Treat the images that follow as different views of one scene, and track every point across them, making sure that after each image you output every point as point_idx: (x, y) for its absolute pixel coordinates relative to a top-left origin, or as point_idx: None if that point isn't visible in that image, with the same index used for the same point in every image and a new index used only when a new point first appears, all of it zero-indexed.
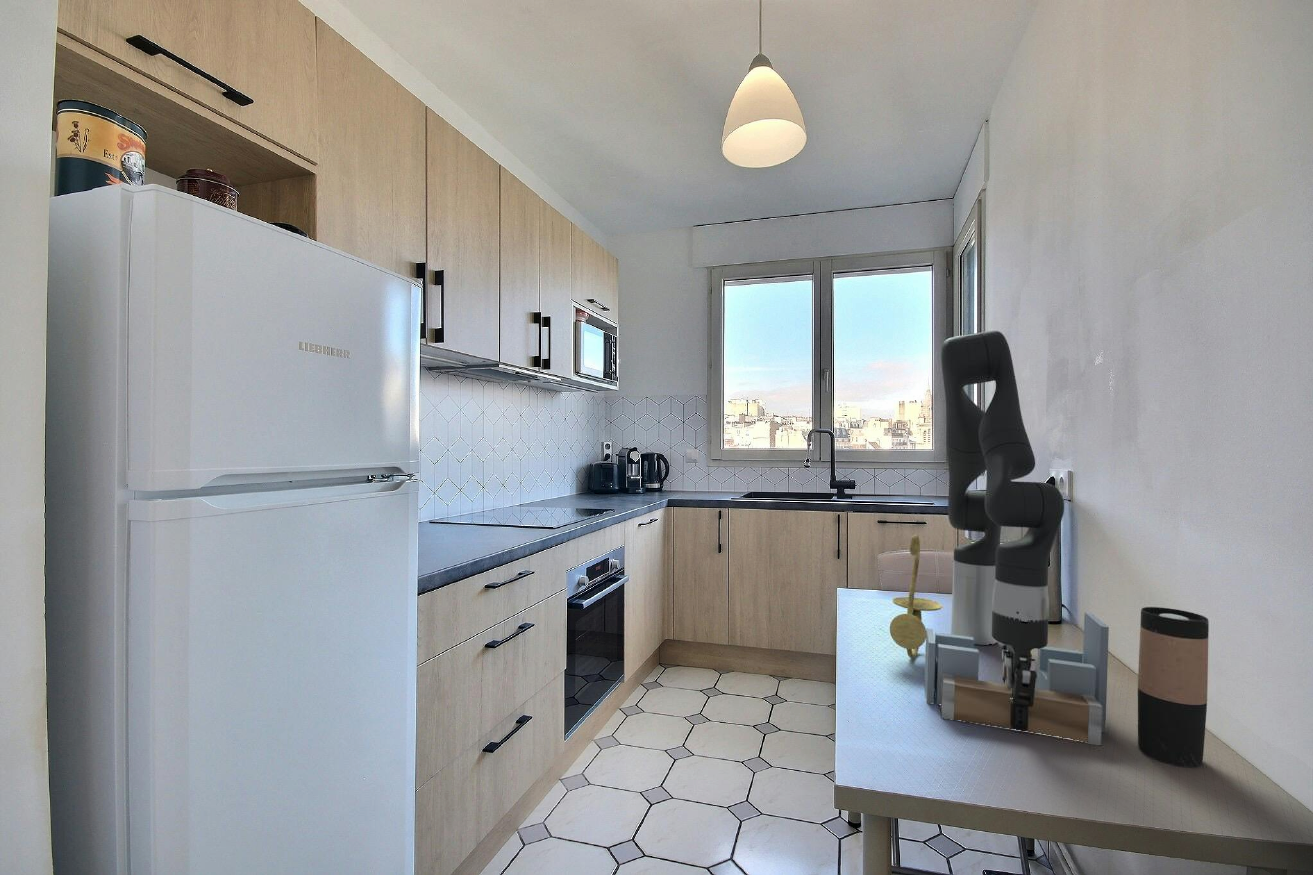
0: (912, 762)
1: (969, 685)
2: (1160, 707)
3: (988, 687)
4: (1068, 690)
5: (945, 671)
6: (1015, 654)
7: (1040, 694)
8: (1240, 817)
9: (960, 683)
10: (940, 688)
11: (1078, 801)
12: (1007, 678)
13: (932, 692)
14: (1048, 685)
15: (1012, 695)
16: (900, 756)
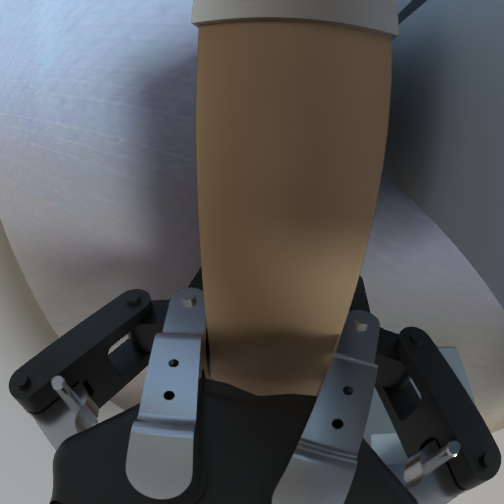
0: (19, 40)
1: (234, 113)
2: None
3: (248, 232)
4: None
5: (450, 21)
6: (56, 484)
7: None
8: (120, 394)
9: (250, 57)
10: (411, 28)
11: (34, 263)
12: (179, 360)
13: (400, 7)
14: None
15: (167, 312)
16: (29, 18)
